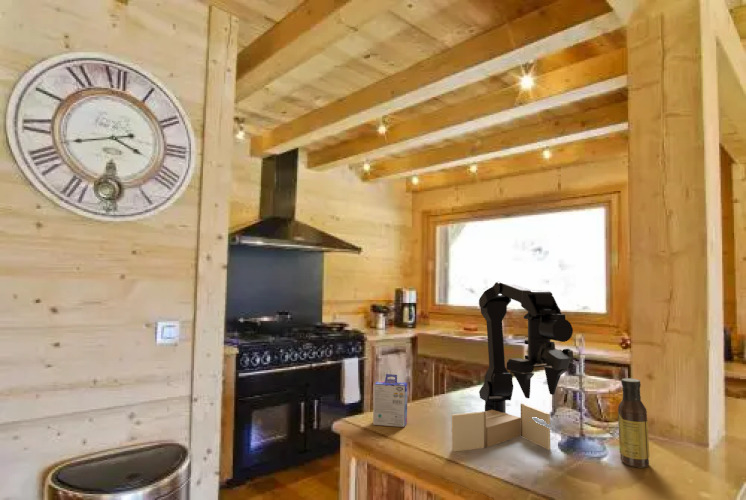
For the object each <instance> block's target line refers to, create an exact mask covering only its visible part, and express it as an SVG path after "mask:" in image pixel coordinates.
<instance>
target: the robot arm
mask: <svg viewBox="0 0 746 500" xmlns="http://www.w3.org/2000/svg"><path fill="white" fill-rule="evenodd" d="M512 300H513V301H516V302H518V303H519V304H520V307H521V308H522V309H524V310H526V311H527V313H526V314H525V315H524V316H523V319H524V320H527V339H525V340H524V345H527V355H526V354H525V355H524V358H521V357H517V358H514V357H513V358H509V359H507V361H506V359H505V346H504V344H505V343H504V331H503V320H504V319H505V316H506V315H507V312H508V311H507V310H508V305H510V303H511V302H512ZM478 305H479V307H480V314H481V315H482V317H483V318H484V320H485V321H486V332H487V333H486V334H487V350H488V351H487V353H488V354H487V355H488V368H487V371H486V372H485V375H484V383H483V384H482V385H481V387H480V389H479V392H478V394H479V398H480V399H481V400H483V401H484V412H485V411H489V410H495V411H499V412H502V413H507V412H506V405H507V404H506V401H511V400H512V397H513V392H514V383H513V382H514V381H513V376H514V377H515V379H516V381H517V382H518V385H519V387H520V389H521V391H522V393H523V395H524V397H525V399H530V398H531V397H530V396H531V379H532V378H533V377H534V376H535V373H534V372H533V371H534V370H535V368H543V367H544V372H545V378H546V379H545V380H546V382H547V388H548V392H549V395H552V396H553V395H555V393H556V390H557V386H558V384H559V381H560V379H561V376H562V375H563V374H565V372H568V371H569V369H572V367H573V366H572V363H574V351H573V350H572V349H571V348H564V349H558V348H556V343H555V342H554V341H556V342H561V343H562V342H563V343H565V342H567V341H569V340H570V339H571V338H572V336H573V333H574V328H573V326H572V323H571V322H570V321H569V320H567V319H566V314H565V313H562V311H561V309H560V307H559V305H558V303H557V301H556V299H555V297H554V296H553V293H552V292H551V291H550V290H542V289H541V290H539V289H538V290H537V289H536V290H535V289H529V288H526V287H523V286H520V285H518V284H516V283H513V282H511V281H497V282H495V283H494V284H493V285H492V286H491V287H490V288H487V289H486V290H485V291H483V292H482V294H481V295H480V296H479V300H478ZM508 370H509V371H508Z"/></svg>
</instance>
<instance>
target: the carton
mask: <svg viewBox="0 0 746 500" xmlns="http://www.w3.org/2000/svg"><path fill="white" fill-rule="evenodd" d="M484 412H486V448H489V447H491V446H495V445H497V444H501V443H504V442H506V441H509V440H513V439H515V438H518V437H521V416H516V415H512V414H509V413H507V412H506V413H502V412H499V411H495V410H489V411H485V410H484Z"/></svg>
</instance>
